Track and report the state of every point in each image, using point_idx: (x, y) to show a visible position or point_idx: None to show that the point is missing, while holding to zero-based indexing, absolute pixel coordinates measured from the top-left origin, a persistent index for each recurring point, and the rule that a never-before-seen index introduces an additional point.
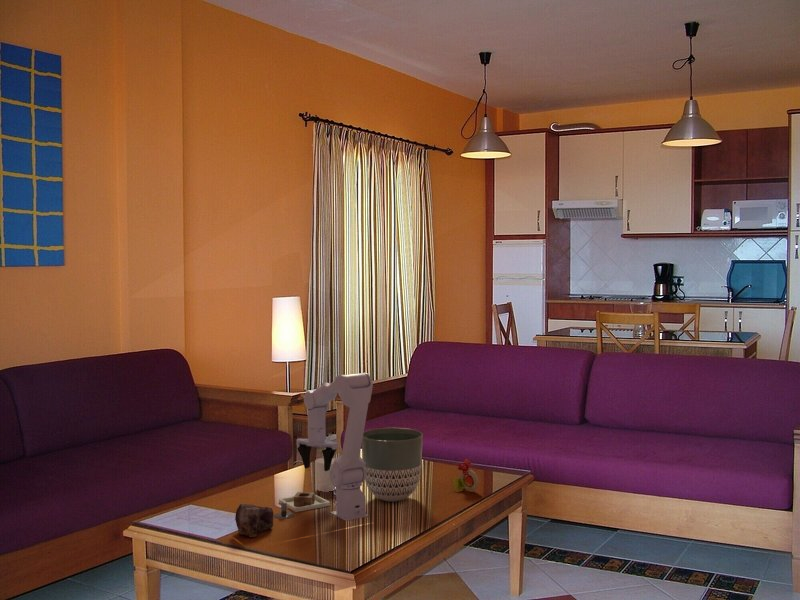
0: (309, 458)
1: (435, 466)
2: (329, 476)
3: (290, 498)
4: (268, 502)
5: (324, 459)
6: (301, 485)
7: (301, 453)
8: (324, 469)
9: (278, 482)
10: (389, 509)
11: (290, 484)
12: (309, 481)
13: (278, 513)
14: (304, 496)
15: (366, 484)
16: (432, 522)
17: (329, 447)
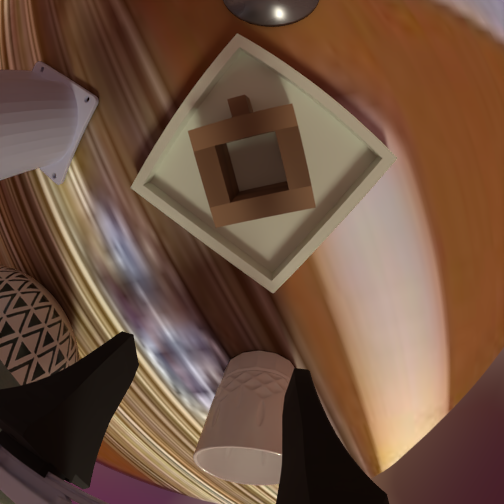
0: (284, 449)
1: (137, 471)
2: (224, 398)
3: (349, 193)
4: (437, 167)
5: (76, 383)
6: (365, 388)
7: (336, 469)
8: (127, 339)
9: (438, 386)
10: (8, 227)
11: (402, 385)
12: (349, 417)
13: (310, 2)
14: (234, 136)
15: (45, 316)
16: None
17: (21, 462)
